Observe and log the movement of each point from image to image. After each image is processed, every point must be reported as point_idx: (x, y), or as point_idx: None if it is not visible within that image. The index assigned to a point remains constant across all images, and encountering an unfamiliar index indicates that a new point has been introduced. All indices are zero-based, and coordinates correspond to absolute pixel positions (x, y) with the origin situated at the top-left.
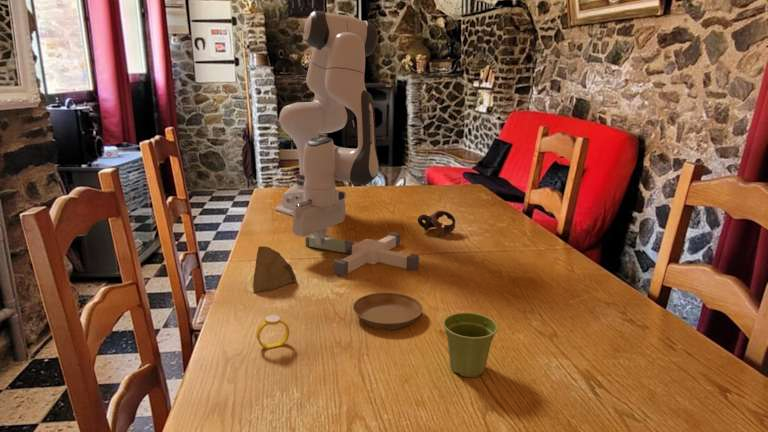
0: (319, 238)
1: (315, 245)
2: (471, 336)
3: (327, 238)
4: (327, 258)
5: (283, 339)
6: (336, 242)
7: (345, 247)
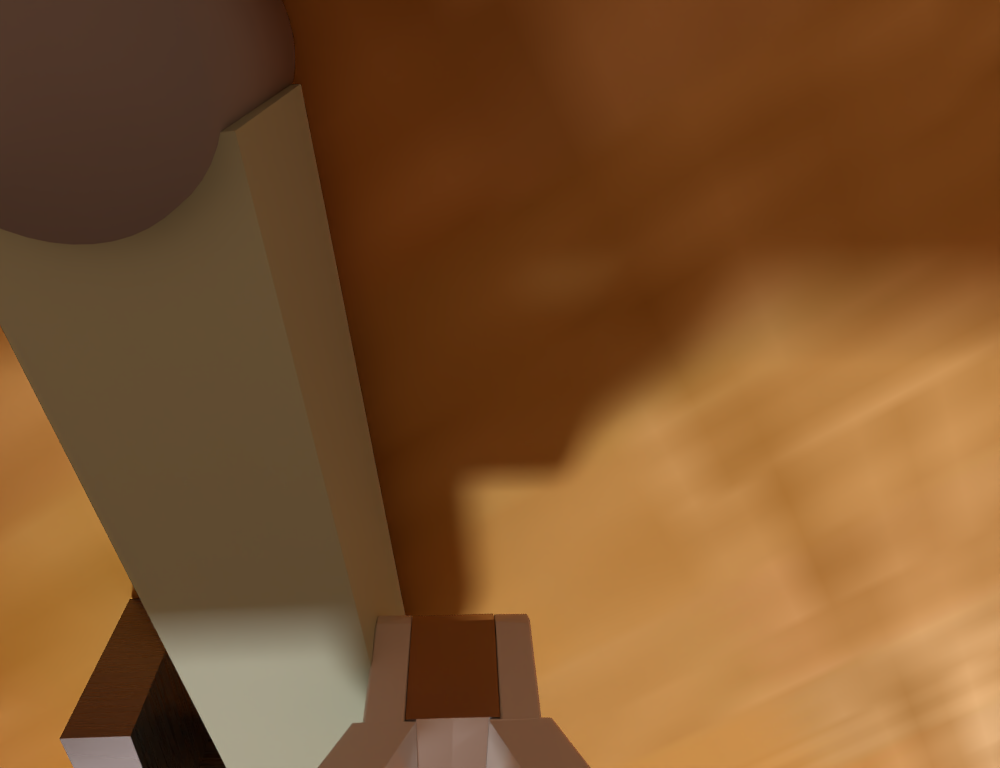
0: (568, 747)
1: None
2: None
3: (251, 679)
4: (697, 273)
5: None
6: (313, 422)
7: (266, 104)
